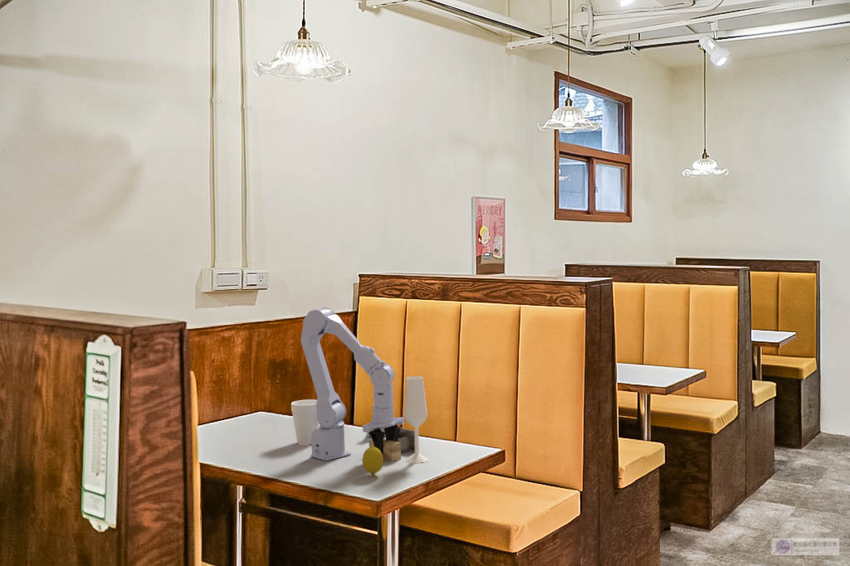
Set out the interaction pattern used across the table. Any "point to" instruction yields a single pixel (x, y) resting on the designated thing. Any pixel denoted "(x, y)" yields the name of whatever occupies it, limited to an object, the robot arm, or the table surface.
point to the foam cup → (304, 420)
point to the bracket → (406, 440)
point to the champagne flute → (415, 411)
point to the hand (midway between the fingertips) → (384, 452)
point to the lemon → (372, 460)
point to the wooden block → (389, 449)
